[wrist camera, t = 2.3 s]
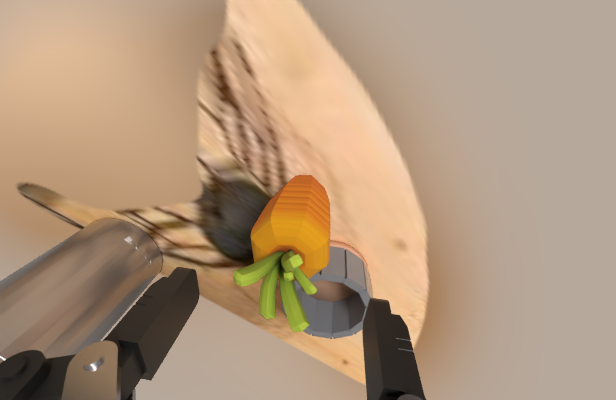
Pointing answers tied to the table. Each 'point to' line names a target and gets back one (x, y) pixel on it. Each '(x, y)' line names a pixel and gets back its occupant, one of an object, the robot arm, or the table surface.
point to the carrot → (289, 247)
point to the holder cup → (337, 294)
